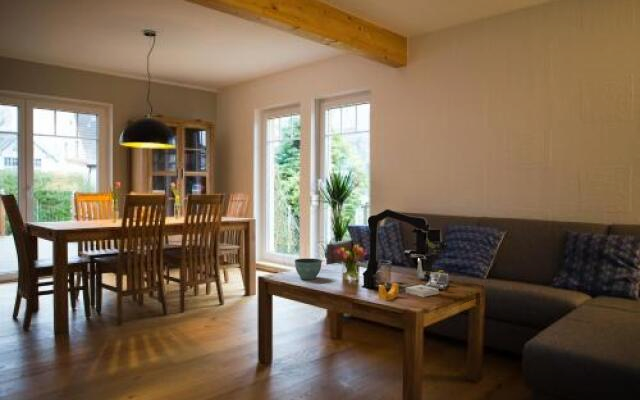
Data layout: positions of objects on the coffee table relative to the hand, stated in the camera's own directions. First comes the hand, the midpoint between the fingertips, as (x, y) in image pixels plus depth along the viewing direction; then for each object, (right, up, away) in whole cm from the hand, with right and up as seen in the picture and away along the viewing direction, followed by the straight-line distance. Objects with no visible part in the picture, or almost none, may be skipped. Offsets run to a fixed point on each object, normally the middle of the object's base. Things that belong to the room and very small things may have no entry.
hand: (420, 270), depth 249 cm
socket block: (-8, -11, +10) cm, 17 cm away
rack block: (0, -12, -1) cm, 12 cm away
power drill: (+14, -11, +33) cm, 37 cm away
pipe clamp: (-18, -12, -13) cm, 25 cm away
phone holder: (+11, -12, +14) cm, 21 cm away
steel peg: (0, -4, 0) cm, 4 cm away
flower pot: (-60, -10, +32) cm, 69 cm away
